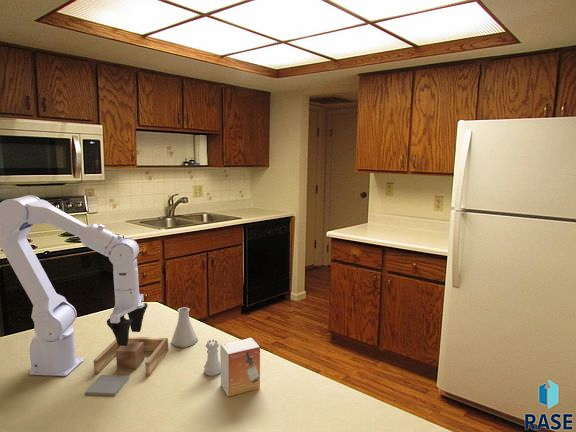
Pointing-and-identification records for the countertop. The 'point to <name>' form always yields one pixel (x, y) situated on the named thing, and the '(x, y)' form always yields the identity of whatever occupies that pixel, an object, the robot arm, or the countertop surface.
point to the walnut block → (130, 355)
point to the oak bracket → (149, 345)
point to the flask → (184, 330)
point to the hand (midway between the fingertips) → (129, 338)
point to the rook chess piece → (212, 359)
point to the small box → (240, 366)
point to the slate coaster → (107, 385)
